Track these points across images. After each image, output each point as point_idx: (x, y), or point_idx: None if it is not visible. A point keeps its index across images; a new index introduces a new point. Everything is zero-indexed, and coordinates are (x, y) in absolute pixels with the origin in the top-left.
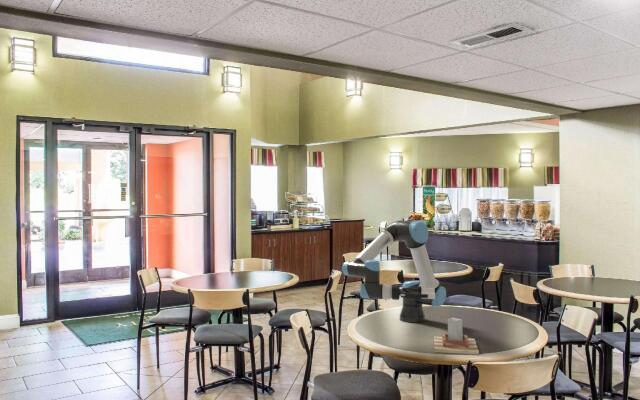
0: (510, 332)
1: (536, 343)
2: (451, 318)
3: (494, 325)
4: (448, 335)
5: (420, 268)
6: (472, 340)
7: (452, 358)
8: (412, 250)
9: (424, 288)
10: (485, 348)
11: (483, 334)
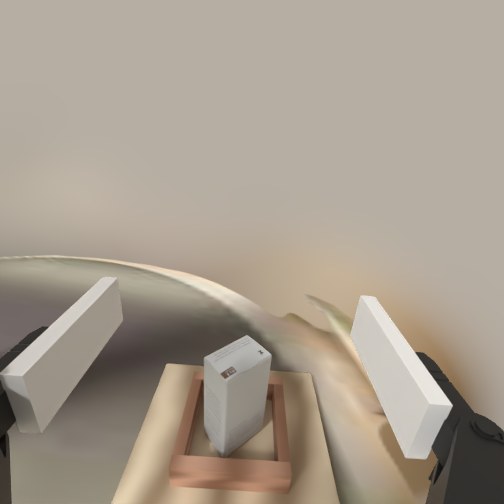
0: None
1: (191, 277)
2: (228, 366)
3: (7, 303)
4: (227, 438)
5: None
6: (189, 371)
7: (396, 471)
8: None
9: (55, 347)
10: None
11: None
